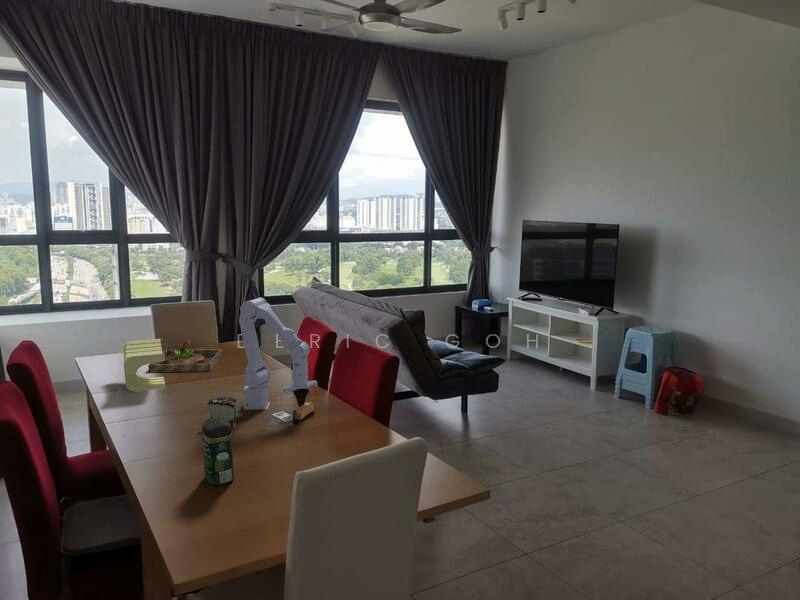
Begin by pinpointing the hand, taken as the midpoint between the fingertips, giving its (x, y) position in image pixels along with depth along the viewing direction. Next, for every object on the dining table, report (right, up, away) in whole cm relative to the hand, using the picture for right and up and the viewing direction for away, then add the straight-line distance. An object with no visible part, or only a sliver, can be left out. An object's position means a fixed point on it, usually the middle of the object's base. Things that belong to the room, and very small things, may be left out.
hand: (300, 406), depth 242 cm
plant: (-71, +10, +72) cm, 101 cm away
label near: (-4, -3, -8) cm, 10 cm away
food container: (-25, -5, -13) cm, 29 cm away
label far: (-7, -3, -5) cm, 9 cm away
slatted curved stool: (-74, +3, +32) cm, 81 cm away
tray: (-5, -4, -7) cm, 9 cm away
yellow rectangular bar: (+2, -2, -5) cm, 5 cm away
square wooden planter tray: (-69, +10, +69) cm, 98 cm away
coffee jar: (-15, -12, -57) cm, 60 cm away
